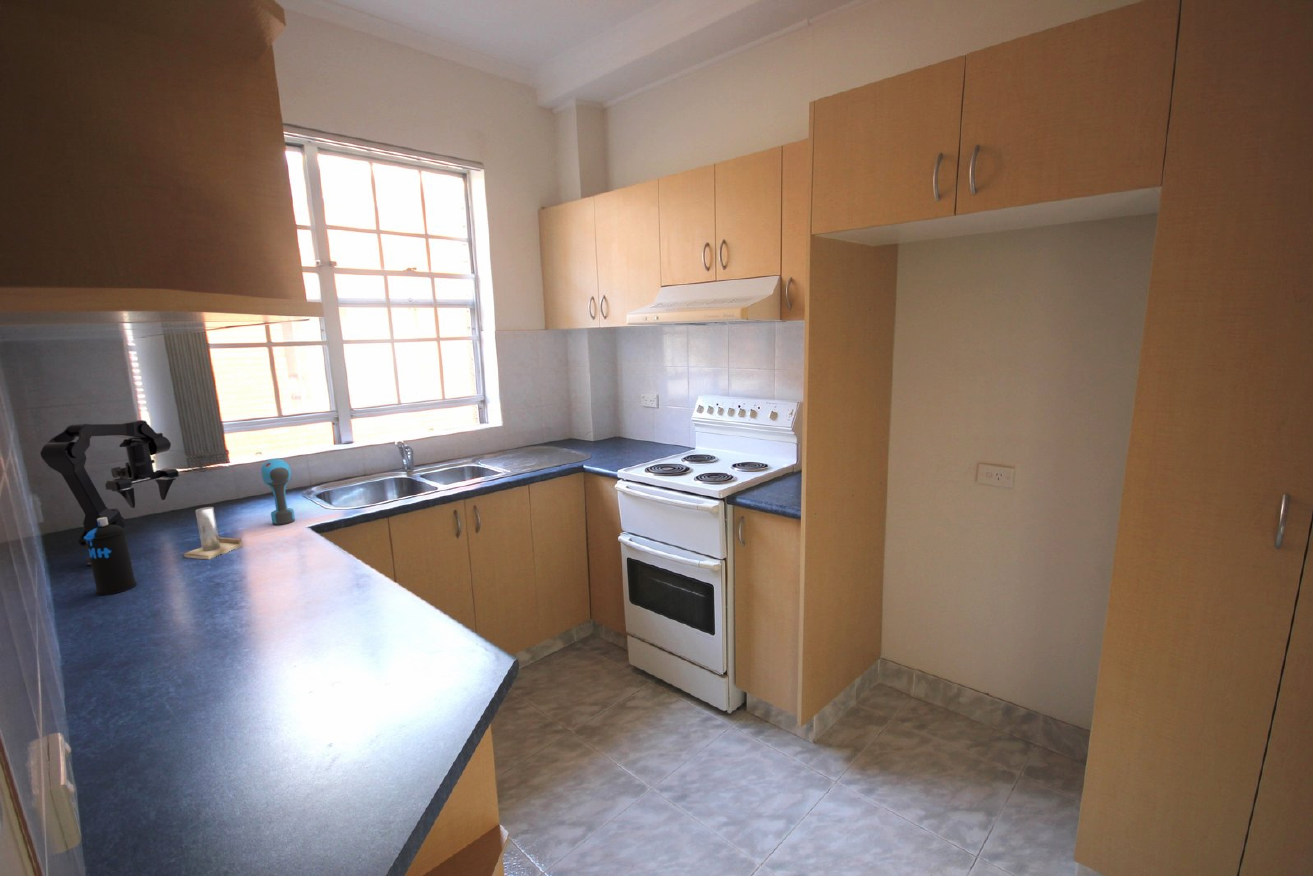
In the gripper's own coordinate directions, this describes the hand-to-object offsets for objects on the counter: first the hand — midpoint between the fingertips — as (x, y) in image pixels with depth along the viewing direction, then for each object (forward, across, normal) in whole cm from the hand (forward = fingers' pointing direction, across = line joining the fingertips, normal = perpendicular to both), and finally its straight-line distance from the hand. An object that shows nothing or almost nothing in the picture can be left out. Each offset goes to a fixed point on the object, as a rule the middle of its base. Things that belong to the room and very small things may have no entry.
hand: (148, 503), depth 195 cm
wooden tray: (+13, +5, +32) cm, 35 cm away
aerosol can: (+13, +32, +33) cm, 48 cm away
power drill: (+13, -27, +24) cm, 39 cm away
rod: (+12, +5, +32) cm, 34 cm away
